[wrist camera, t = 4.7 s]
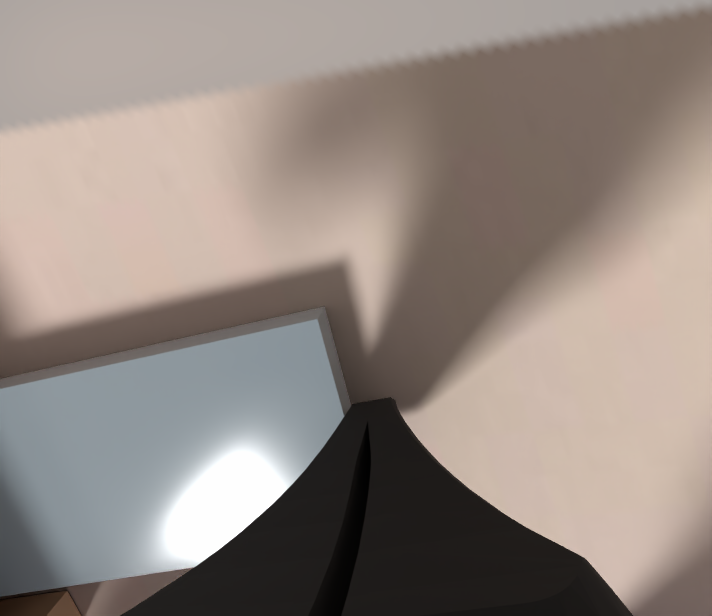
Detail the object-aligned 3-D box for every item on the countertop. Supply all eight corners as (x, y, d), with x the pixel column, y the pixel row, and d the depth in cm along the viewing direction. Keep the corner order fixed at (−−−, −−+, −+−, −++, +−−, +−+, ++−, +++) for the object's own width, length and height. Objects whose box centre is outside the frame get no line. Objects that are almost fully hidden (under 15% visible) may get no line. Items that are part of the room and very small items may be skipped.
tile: (326, 302, 10) (317, 319, 9) (377, 493, 12) (377, 539, 10) (-42, 385, 12) (-114, 413, 10) (47, 548, 13) (-1, 596, 12)
